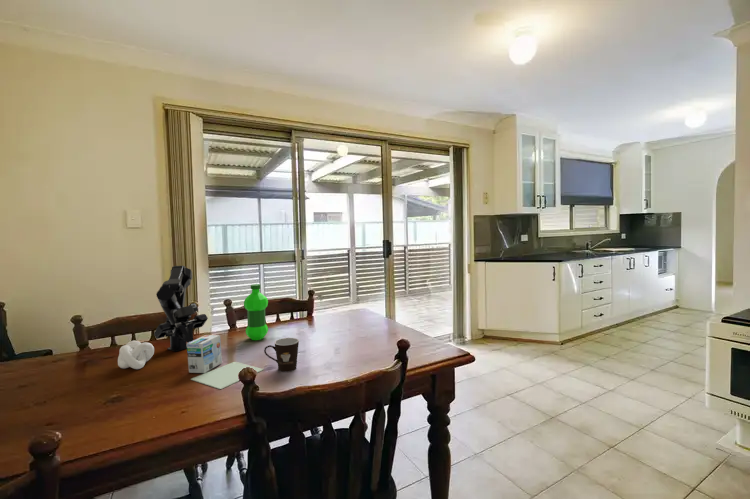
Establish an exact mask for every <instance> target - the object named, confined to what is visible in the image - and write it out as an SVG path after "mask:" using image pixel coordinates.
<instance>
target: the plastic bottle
mask: <svg viewBox="0 0 750 499" xmlns="http://www.w3.org/2000/svg"><path fill="white" fill-rule="evenodd" d="M261 288H262V287H261V284H260V283H259V284H258V283H255V284H254V283H253V284H250V290H251V293H250V294H248V296H246V297H245V299H244V301H243V306H244V309H245V310H246V313H247V319H246V321H247V326H246V328H245V334H246V336H247V337H248V338H249V339H251V341H261V340H263V339H264V338H265V336H266V335H267V334H268V332H269V327H268V325H267V322H266V321H267V320H266V319H267V318H266V308H267V307H268V306H269V305H268V304H269V300H268V298H267V296H265V295H264V293H261V292H260V289H261Z"/></svg>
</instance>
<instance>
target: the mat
mask: <svg viewBox="0 0 750 499" xmlns="http://www.w3.org/2000/svg"><path fill="white" fill-rule="evenodd" d="M246 367H250V368H253V369H254V370H256V371H257V373H256V374H259V373H260V372H263V371H264V370H265V369H264V368H261V367H257V366H253V365H249V364H245V363H243V362H238V361H233V362H230V363H228V364H225V365H223V366H219V367H217V368H215V369H211V370H209V371H207V372H206V373H201V374H199V375H197V376H193V377H192V378H190V381H194V382H196V383H198V384H199V383H200V384H202V385H206V386H209V387H211V388H215V389H218V390H220V389H221V390H222V389H223V390H224V389H225V388H227V387H230V386H231V385H234V384H236V383H239V382H240V381H239V379H238V373H239V372H240V371H241V370H242V369H243V368H246Z"/></svg>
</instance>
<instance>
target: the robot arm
mask: <svg viewBox="0 0 750 499" xmlns="http://www.w3.org/2000/svg"><path fill="white" fill-rule="evenodd" d="M192 280H193V272H192V269H190V268H188V267H186V265H174V266H172V267H171V269H170V276H169V277H168V280H165V281H164V282H163V283H162V285H161V286H160V287H159V289H158V291H156V297H157V300H158V302H159V304H160V307H161V308H162V310H163V312H164V314H165V316H166V318H165V321H164V323H160V324H158V325H157V327H156V329H155V331H154V332H153V336H154V337H155V339H157V340H158V339H163V338H165V337H169V341H170V347H166V350H168V351H172V352H175V353H176V352H179V351H183V350H187V343H189V342H191V341H193V340H194V335H193V334H194V331H193V330H194V329H200V328H203V327H204V325H205V324H206V322H207V321H208V319H209V318H208V316H207V314H205V313H201V314H197V315H195V316H194V318H193V319H191V318H192V315H193V314H195V313H196V312H197V311H198V310H199V308H198V306H197V305H196V303H194V302H193V303H191V304H189V305H187V306H185V302H186V293H187V288H188V287H189V286H190V285H191V281H192ZM189 319H191V320H189Z"/></svg>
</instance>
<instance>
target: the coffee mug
mask: <svg viewBox="0 0 750 499" xmlns="http://www.w3.org/2000/svg"><path fill="white" fill-rule="evenodd" d="M299 343H300V340H299V339H298V338H295V337H285V338H284V337H282V338H279V339H276V340H275V341H274V345H272V344H271V345H267V346H265V347H264V349H263V353H264V354H265V356H267V357H268V358H269V359H271V360H273V361H274V362H276V363H277V369H278V371H279V372H282V373H286V372H287V373H288V372H292V371H295V370H296V369H297V365H298V353H299ZM268 348H272V349H273V350H274V351H275V355H276V356H275V357H276V358H274V357H272V356H270V355H269V354H268V353H267V349H268Z"/></svg>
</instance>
